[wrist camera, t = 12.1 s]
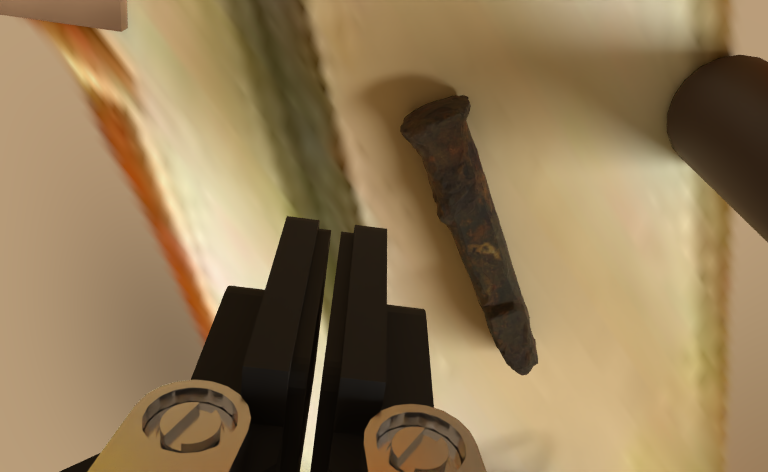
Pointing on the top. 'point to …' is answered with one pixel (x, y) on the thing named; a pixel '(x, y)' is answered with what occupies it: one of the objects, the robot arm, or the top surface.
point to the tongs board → (71, 12)
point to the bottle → (727, 132)
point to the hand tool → (473, 222)
